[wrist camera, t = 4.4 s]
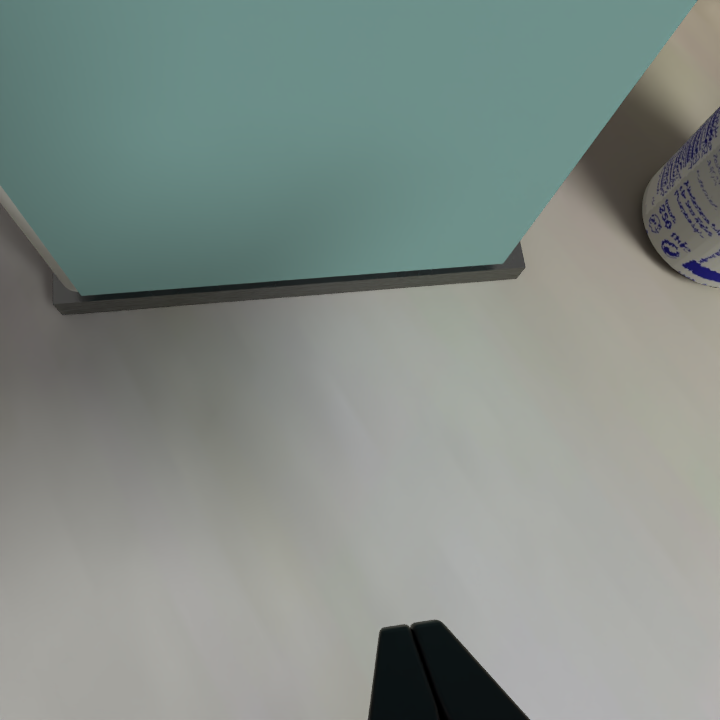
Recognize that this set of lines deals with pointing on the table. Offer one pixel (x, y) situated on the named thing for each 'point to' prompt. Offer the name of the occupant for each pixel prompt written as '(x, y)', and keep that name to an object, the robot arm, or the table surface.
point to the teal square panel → (301, 130)
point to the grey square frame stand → (283, 287)
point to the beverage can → (688, 206)
